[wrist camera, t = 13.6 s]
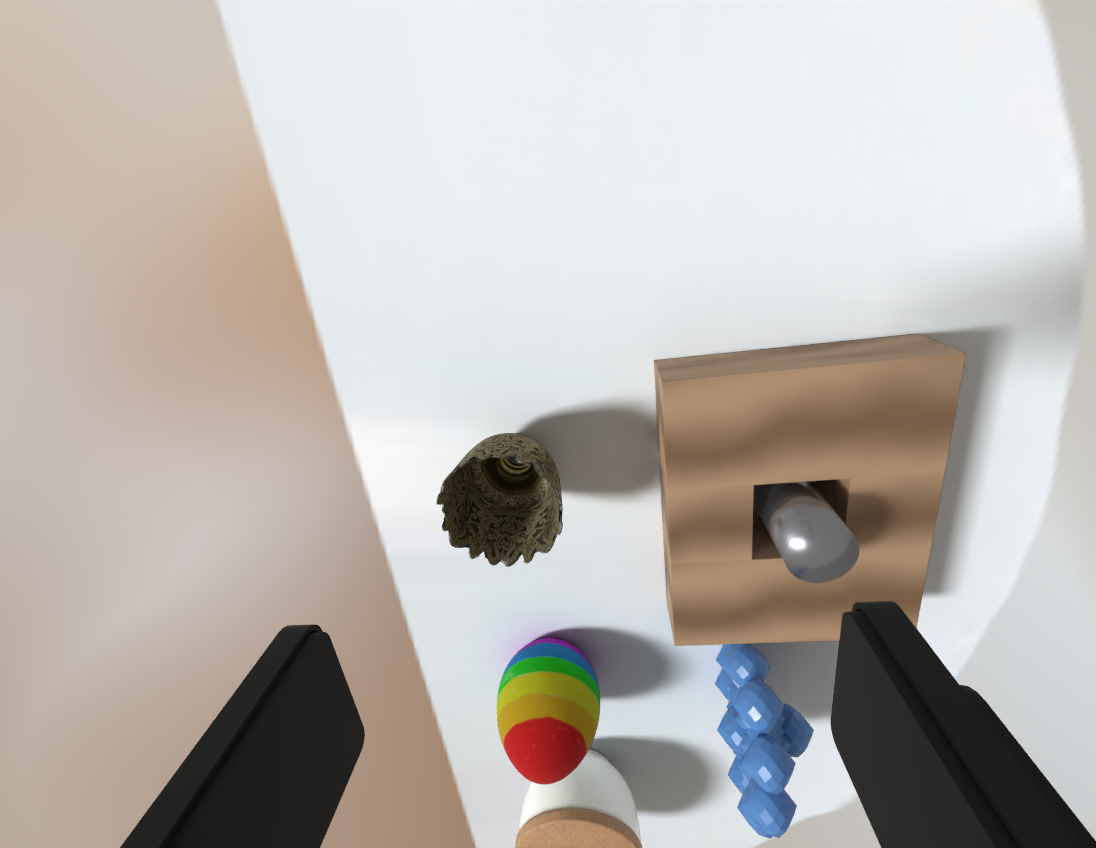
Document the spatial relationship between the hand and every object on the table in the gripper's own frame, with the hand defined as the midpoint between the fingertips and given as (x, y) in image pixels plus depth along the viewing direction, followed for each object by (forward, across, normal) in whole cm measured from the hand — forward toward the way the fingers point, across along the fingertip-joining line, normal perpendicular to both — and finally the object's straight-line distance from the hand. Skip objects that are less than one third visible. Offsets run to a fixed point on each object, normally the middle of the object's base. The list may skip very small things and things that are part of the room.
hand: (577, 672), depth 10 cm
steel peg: (+26, -12, +12) cm, 31 cm away
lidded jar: (+26, +5, +42) cm, 50 cm away
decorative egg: (+26, +6, +28) cm, 39 cm away
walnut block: (+26, -12, +12) cm, 31 cm away
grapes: (+26, -10, +29) cm, 41 cm away
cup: (+26, +6, +8) cm, 28 cm away
